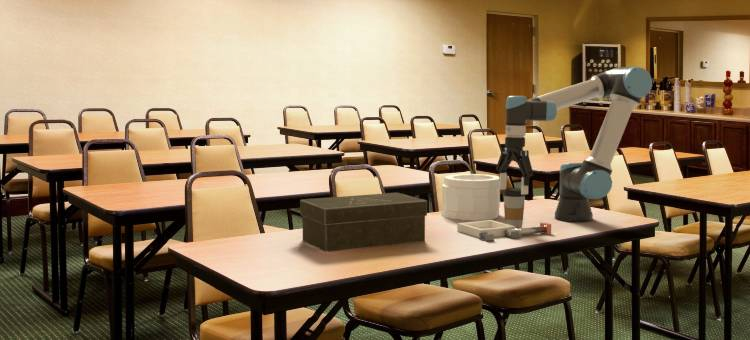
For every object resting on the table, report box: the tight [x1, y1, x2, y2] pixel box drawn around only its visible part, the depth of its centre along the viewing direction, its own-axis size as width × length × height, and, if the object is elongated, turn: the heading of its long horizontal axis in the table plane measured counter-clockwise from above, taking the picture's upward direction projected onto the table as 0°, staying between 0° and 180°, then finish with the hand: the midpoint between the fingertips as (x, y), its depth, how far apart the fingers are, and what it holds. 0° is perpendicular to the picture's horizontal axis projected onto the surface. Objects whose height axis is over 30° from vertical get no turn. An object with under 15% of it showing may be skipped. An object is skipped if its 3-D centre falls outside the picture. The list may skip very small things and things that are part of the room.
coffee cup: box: [502, 187, 526, 229], centre depth 304 cm, size 8×8×15 cm
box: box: [299, 192, 428, 253], centre depth 280 cm, size 22×39×15 cm, turn 117°
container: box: [440, 173, 501, 221], centre depth 333 cm, size 25×24×16 cm
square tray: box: [456, 219, 516, 239], centre depth 295 cm, size 15×15×3 cm
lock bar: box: [506, 222, 552, 238], centre depth 290 cm, size 18×4×4 cm, turn 117°
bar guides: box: [478, 229, 520, 242], centre depth 284 cm, size 14×5×2 cm, turn 117°
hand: (513, 192), depth 303 cm, fingers open, 13 cm apart
